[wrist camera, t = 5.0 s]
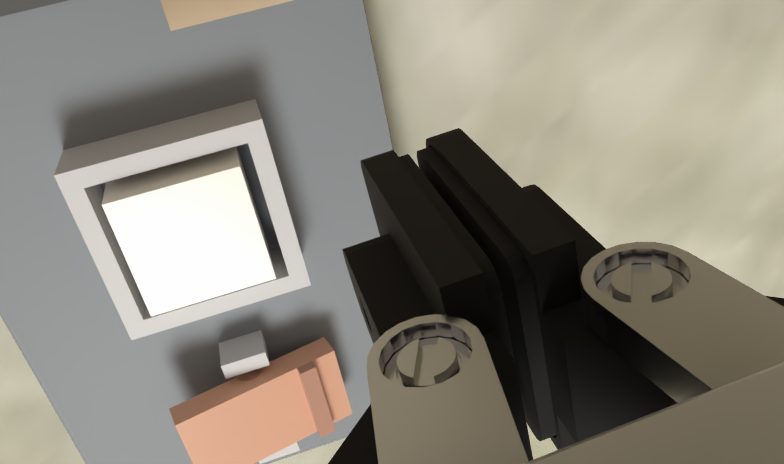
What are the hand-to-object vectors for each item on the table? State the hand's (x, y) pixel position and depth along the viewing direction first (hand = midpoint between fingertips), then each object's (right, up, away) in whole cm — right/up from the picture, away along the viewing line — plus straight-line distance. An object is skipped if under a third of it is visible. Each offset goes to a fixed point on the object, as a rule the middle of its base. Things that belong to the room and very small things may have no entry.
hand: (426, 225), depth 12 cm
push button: (-7, +1, +12) cm, 14 cm away
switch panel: (-8, +2, +14) cm, 16 cm away
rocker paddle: (-5, -7, +15) cm, 17 cm away
